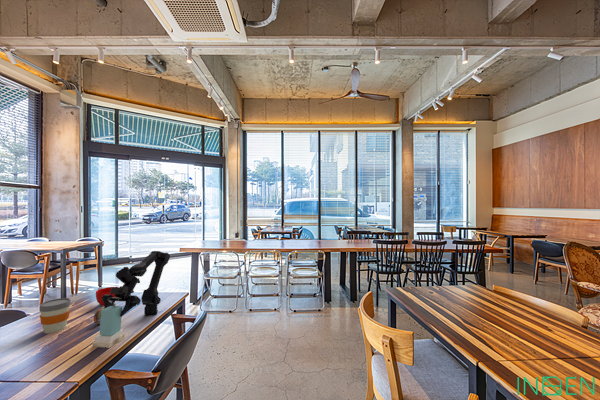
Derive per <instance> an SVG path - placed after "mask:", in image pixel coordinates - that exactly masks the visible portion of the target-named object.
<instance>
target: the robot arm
mask: <svg viewBox="0 0 600 400" xmlns="http://www.w3.org/2000/svg"><path fill="white" fill-rule="evenodd" d="M170 259H171V256H170V254H169V252H163V251H160V250H152V251H150V253H149V254H148V255H147V256H146V257H145V258H144V259H142V260H141V261H140V262H138V263H136V264H134V265H132V266H131V267H129V266H123V268H121V269H119V270H118V271H116V273H115V277H116V278H117V279H118V280H119V281H120V282H121V283H123V285H122V286H121V285H120V286H119V288H117V287H118V286H111V287H112V288H111V291H110V294H114V296H116V297H113V296H112V295H103V296H102V298H101V300H102V301H103V302H104V306H103V307H104V309H105V308H107V307H110V306H113V304H115V302H125V303H124V304H125V305H124V307H122V312H121V314H120V317H121V318H122V317H123V316H124V315H125V314H126V313H128V312H129V311H130V310H131V309H133V308H134V307H136V306H139V305H140V304H141V302H142V306H144V317H148V316H149V317H150V316H155V315H157V314H158V311H159V310H158V305H160V303H161V298H160V297H159V291H158V287H159V283H160V281H161V278H162V274H163V270H164V267H165V266H166V265H167V264H168V263H169V261H170ZM153 263H154V264H155V266H154V269H153V272H152V275H151V279H150V282H149V285H148V287H147V288H146V289H144V290H143V293H142V294H141V298H140V297H139V296H137V295H135V294H134V292H135V290H134V289H135V287H136V286H137V284H140V283H141V280H140V277H143V276H144V275H145V274H146V273H147V270H148V268H149V267H150V266H151V264H153ZM133 294H134V295H133Z"/></svg>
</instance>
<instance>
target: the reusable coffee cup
mask: <svg viewBox="0 0 600 400" xmlns="http://www.w3.org/2000/svg"><path fill="white" fill-rule="evenodd" d="M71 304H72V302H71V298H68V297H62V298H54V299H49V300H46V301H44V302H42V303H40V305H39V308H38V309H39V312H40V314H39V319H40V324H41V325H42V331H43V334H53V333H57V332H60V331H62V330H65V329H66V328H67V325H68V319H69V317H70V312H71V308H70V307H71Z"/></svg>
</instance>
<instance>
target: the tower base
mask: <svg viewBox="0 0 600 400" xmlns="http://www.w3.org/2000/svg"><path fill="white" fill-rule="evenodd" d="M123 339H125V333H123V334H122V335H121V336H119V337H118V338H117V339H115V340H114V341H112V342H111V343H103V342H95V341H93V342H92V347H93V348H105V347H106V349H107V348H108V349H110V348H112V347H113V346H114V345H116V344H118V343H119V342H121V341H123Z"/></svg>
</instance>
